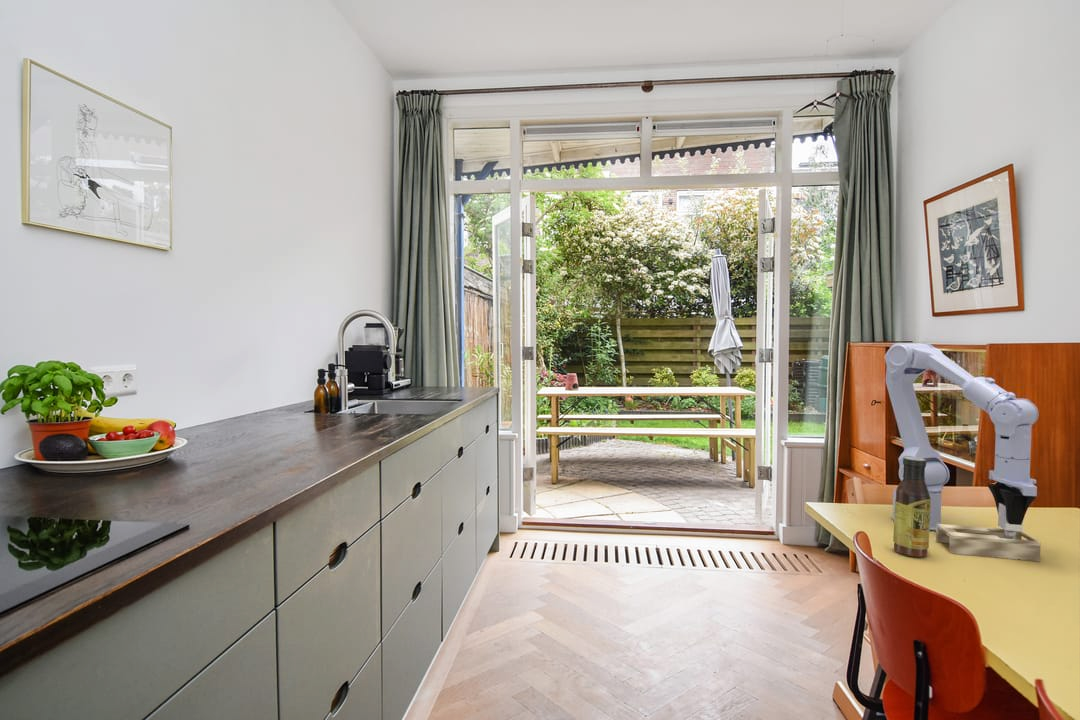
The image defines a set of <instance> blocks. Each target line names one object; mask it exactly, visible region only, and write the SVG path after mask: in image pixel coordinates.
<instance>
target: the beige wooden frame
mask: <svg viewBox="0 0 1080 720" xmlns="http://www.w3.org/2000/svg"><path fill="white" fill-rule="evenodd" d="M1004 531H1005V530H1004V529H1003V528H996V527H995V528H994V527H985V526H984V527H983V526H971V525H970V526H969V525H958V524H948V523H947V524H946V523H945V524H944V523H941V524H936V531H935V541H936V542H937V543H942V544H944V543H946V544H948V553H950V554H952V555H953V554H954V555H964V556H965V555H966V556H977V557H987V558H996V557H997V558H999V559H1007V558H1008V559H1009V560H1018V559H1020V560H1021V561H1028V560H1029V562H1031V561H1032V562H1041V546H1042V544H1041V542H1040V541H1039V540H1037V539H1034V538H1033V537H1032V536H1030V535H1028V534H1026V533H1025V532H1022V531H1016V537H1015V539H1005V538H1004ZM1022 538H1024V539H1022ZM1008 559H1007V560H1008Z"/></svg>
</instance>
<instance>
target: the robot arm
mask: <svg viewBox="0 0 1080 720" xmlns="http://www.w3.org/2000/svg"><path fill="white" fill-rule="evenodd" d="M883 357H884V361H885V365H886V371H885V372H886V373H885V385H886V388H887V391H888V396H889V400H890V402H891V406H892V409H893V410H892V411H893V414H894V417H895V421H896V424H897V428H898V432H899V435H900V438H901V442H902V447H903V452H902V453H901V454H900V455H899V457H898V464H899V469H898V478H899V479H900V482H901V481H902V480H903V474H904V464H903V458H904V457H916V458H922V459H925V460H926V467H925V483H926V486H927V489H928V492H929V495H930V498H931V507H930V529H929V531H935V532H936V524H942V497H943V496H942V493H943V492H942V491H943V489H944V486H945V484H947V483H948V482H949V480H950V469H949V468H948V466H947V465H946V464H945V463H944V461H943V459H942V456H941V454H940V453H939V452H938V451H937V450H936V449H934V448H933V447H932V446H931V443H930V439H929V435H928V432H927V429H926V426H925V422H924V419H923V415H922V410H921V408H920V405H919V401H918V398H917V395H916V394H917V393H916V390H915V386H914V383H915V381H917V378H918V377H920V376H921V375H922V374H923V373H925V372H926V371H928V370H931V371H933V372H935V373H936V374H937V375H939V376H941V377H943V378H945V379H946V380H948V381H950V382H951V383H953V385H954V384H955V386H957V387H959V388H961V389H962V396H963V397H964V398H965V399H967V400H968V401H970V402H971V403H972V404H974V405H976V406H977V407H978V408H979V409H981V410H983V411H984V412H985V413H987V415H989V418H990V421H991V422H992V423H993V425H994V432H995V440H994V441H995V443H994V444H995V447H994V469H993V470H991V469H990V470H989V471H988V479H989V480H992V481H995V482H994V483H987V487H988V489H989V490H990V492H991V495H992V496H993V500H994V503H995V508H996V511H997V514H998V513H999V502H1000V503H1005V507H1006V516H1007V521H1008V523H1009V524H1014V525H1021V524H1022V522H1023V523H1024V519H1025V516H1026V514H1027V511H1028V509H1029V507H1030V506H1031V504H1032V502H1034V500H1035V499H1036V498H1037V496H1038V487H1037V486H1036V485H1035V484H1037V479H1034V478H1031V474H1030V473H1031V453H1032V452H1031V451H1032V426H1033V424H1035V423H1036V422H1037V421H1038V419H1039V416H1040V415H1039V409H1038V407H1037V406H1036V405H1035V404H1034V403H1033V402H1032V401H1031V400H1030V399H1028V398H1017V397H1016V394H1015V393H1014V392H1012V391H1008V390H1005V389H1004V388H1002V387H1001V386H999V385H998V384H996V383H995V382H996V380H995V379H994V378H992V377H986V376H973V375H972V374H971V373H969V371H967V370H965V369H964V368H963V367H962V366H960V365H959V364H958V363H956V362H954V361H953V360H952V359H950V358H949V357H948V356H946V355H945V354H944V353H943V351H942V350H941V349H939V348H937V347H934V346H933V345H932V344H930V343H929V342H928V343H927V342H920V343H915V342H914V343H904V342H896V343H893V344H892V345H891V346H890V347H889V349H888V350H887V351H886V353H885V354H884V355H883ZM896 489H897V487H894V490H893V495H892V516H891V519H892V520H893V521H894V513H895V500H896Z"/></svg>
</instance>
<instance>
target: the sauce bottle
mask: <svg viewBox="0 0 1080 720" xmlns="http://www.w3.org/2000/svg"><path fill="white" fill-rule="evenodd" d="M903 464H904V474H903V480H902V481H901V480H900V482H899V484H898V485H897V487H896V488H897V489H896V500H895V513H894V520H893V538H892V542H893V548H894V551H895V552H897V553H898V554H901V555H905V556H909V557H917V558H919V557H920V558H921V557H926V556H927V554H928V549H929V548H930V530H929V529H930V507H931V498H930V495H929V492H928V489H927V486H926V483H925V467H926V460H925V459H922V458H916V457H904V458H903Z"/></svg>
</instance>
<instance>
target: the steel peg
mask: <svg viewBox="0 0 1080 720" xmlns="http://www.w3.org/2000/svg"><path fill="white" fill-rule="evenodd" d="M997 515H998V516H997V517H998V521H997V522H998V523H997V526H998V527H999V528H1000V529H1004V530H1005V531H1004V538H1005V539H1015V537H1016V531H1021V532H1023V531H1024V530H1023V528H1024V527H1023V526H1024V521H1023V522H1022V524H1021V525H1014V524H1009V523H1008V521H1007V516H1006V507H1005V503H1000V502H999V513H998V512H997ZM1023 533H1024V532H1023Z"/></svg>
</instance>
